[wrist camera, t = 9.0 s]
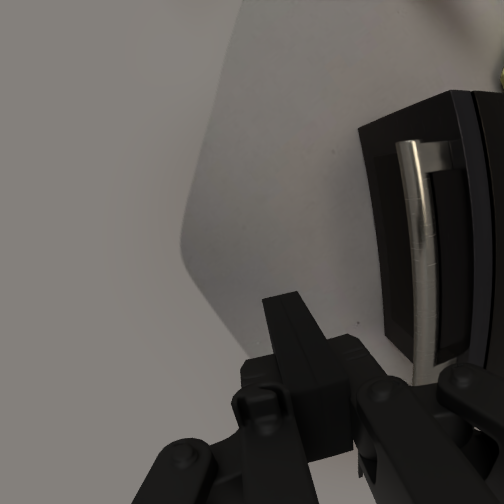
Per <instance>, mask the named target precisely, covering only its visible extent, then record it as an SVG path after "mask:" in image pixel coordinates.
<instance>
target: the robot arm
mask: <svg viewBox="0 0 504 504" xmlns="http://www.w3.org/2000/svg"><path fill="white" fill-rule="evenodd" d="M262 303H263V307H264V312H265V316H266V321H267V325H268V330H269V334H270V339H271V343H272V348H273V353H274V354H271V355H266V356H262V357H257V358H253V359H248V360H246V361H245V362H244V364H243V366H242V367H241V369H240V373H241V387H242V388H241V389H240V390H239V391H238V392H237V393H236V394H235V395H234V396H233V398H232V401H231V405H232V409H233V411H234V414H235V417H236V420H237V423H238V426H239V429H238V430H237V431H236V433H234V434H233V435H232V436H230V437H229V438H227V439H225V440H223V441H220V442H217V443H215V444H213V445H208V444H207V443H206V442H204V441H203V440H200V439H195V438H185V439H180V440H177V441H174V442H172V443H170V444H169V445H167V446H166V447H164V448H163V450H162V451H161V452H160V453H159V454H158V456H157V458H156V460H155V462H154V464H153V466H152V467H151V469H150V471H149V473H148V475H147V476H146V478H145V480H144V482H143V483H142V485H141V487H140V489H139V491H138V493H137V494H136V496H135V498H134V500H133V502H132V503H131V504H319V502H318V498H317V494H316V491H315V487H314V484H313V480H312V477H311V473H310V470H309V466H308V463H309V462H313V461H316V460H321V459H324V458H328V457H332V456H335V455H338V454H342V453H345V452H348V451H351V450H353V440H354V442H355V444H356V447H357V448H358V474H359V478H360V477H362V476H363V473H364V476H365V478H366V480H367V483H368V485H369V487H370V489H371V492H372V494H373V496H374V499H375V501H376V503H377V504H504V378H502V377H500V376H498V375H496V374H494V373H492V372H490V371H488V370H486V369H484V368H482V367H480V366H478V365H475V364H471V363H456V364H451V365H449V366H447V367H445V368H444V369H443V370H442V371H441V372H440V374H439V377H438V382H437V383H432V384H426V385H420V386H408V384H407V383H406V382H405V381H403V380H402V379H401V378H398V377H395V376H388V375H387V374H386V373H385V371H384V370H383V369H382V368H381V366H380V365H379V364H378V363H377V361H376V360H375V359H374V357H373V356H372V355H371V354H370V352H369V351H368V350H367V349H366V348H365V346H364V345H363V344H362V342H361V341H360V340H359V339H358V338H356V337H354V336H352V335H349V334H345V335H342V336H338V337H334V338H331V339H326V338H325V336H324V334H323V333H322V331H321V329H320V328H319V326H318V325H317V323H316V321H315V320H314V318H313V316H312V315H311V313H310V311H309V310H308V308H307V306H306V305H305V303H304V301H303V300H302V298H301V296H300V295H299V293H298V292H297V291H295V292H290V293H286V294H282V295H277V296H273V297H269V298H264V299H262ZM474 427H476V428H478V429H479V430H481V431H478V430H476V429H474Z"/></svg>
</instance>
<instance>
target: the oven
mask: <svg viewBox="0 0 504 504" xmlns="http://www.w3.org/2000/svg"><path fill="white" fill-rule="evenodd" d="M471 95H472V99H473V103H474V107H475V111H476V116H477V120H478V125H479V129H480V134H481V139H482V145H483V151H484V157H485V163H486V170H487V178H488V186H489V195H490V207H491V221H492V249H493V269H492V296H491V310H490V322H489V331H488V339H487V347H486V354H485V360H484V366H483V368H484V369H486V370H488V371H490V372H492V373H494V374H496V375H498V376H500V377H502V378H504V93H495V92H485V91H471Z"/></svg>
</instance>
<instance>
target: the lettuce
mask: <svg viewBox="0 0 504 504" xmlns="http://www.w3.org/2000/svg"><path fill="white" fill-rule="evenodd" d="M500 81H501V83H502V86H503V88H504V68H503V70H502V74H501V78H500Z"/></svg>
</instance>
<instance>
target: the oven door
mask: <svg viewBox="0 0 504 504" xmlns="http://www.w3.org/2000/svg"><path fill="white" fill-rule="evenodd" d="M358 131H359V136H360V141H361V145H362V150H363V155H364V160H365V165H366V171H367V176H368V182H369V188H370V194H371V200H372V206H373V213H374V220H375V227H376V235H377V243H378V252H379V261H380V271H381V282H382V294H383V309H384V328H385V336H386V337H387V338H388V339H389V340H390V341H391V342H392V343H393V344H394V345H395V346H396V347H397V348H398V349H399V350H400V351H401V352H402V353H403V354H404V355H405V356H406V357H407V358H408V359H409V360H410V361H411V362H412V363H413V378H412V386H420V385H426V384H432V383H437V382H438V377H439V374H440V372H441V371H442V370H443V369H444V368H445V367H447V366H449V365H451V364H456V363H471V364H475V365H478V366H480V367H482V368H483V366H484V360H485V354H486V347H487V339H488V331H489V322H490V310H491V296H492V269H493V249H492V221H491V207H490V195H489V186H488V178H487V170H486V163H485V157H484V151H483V145H482V139H481V134H480V129H479V125H478V120H477V116H476V111H475V107H474V103H473V99H472V95H471V92H470V91H463V90H449V91H446V92H443V93H441V94H438V95H436V96H433V97H431V98H428V99H426V100H423V101H421V102H418V103H416V104H413V105H411V106H408V107H406V108H404V109H401V110H399V111H396V112H394V113H392V114H389V115H387V116H385V117H382V118H380V119H378V120H376V121H373V122H371V123H369V124H366V125H364V126H362V127H360V128H358Z"/></svg>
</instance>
